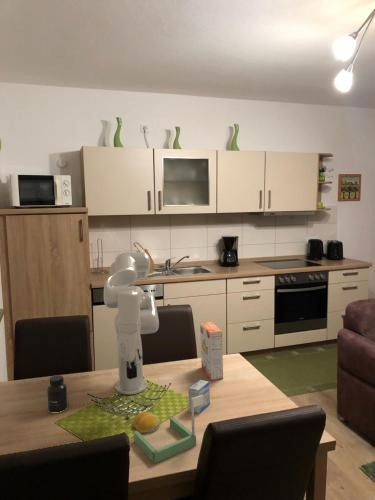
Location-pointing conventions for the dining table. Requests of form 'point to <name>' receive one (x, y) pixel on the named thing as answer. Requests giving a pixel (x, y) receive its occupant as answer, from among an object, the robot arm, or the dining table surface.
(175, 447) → the green u-shaped frame
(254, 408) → the dining table surface
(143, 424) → the bread roll
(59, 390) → the supplement bottle
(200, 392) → the medicine box
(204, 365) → the cracker box
